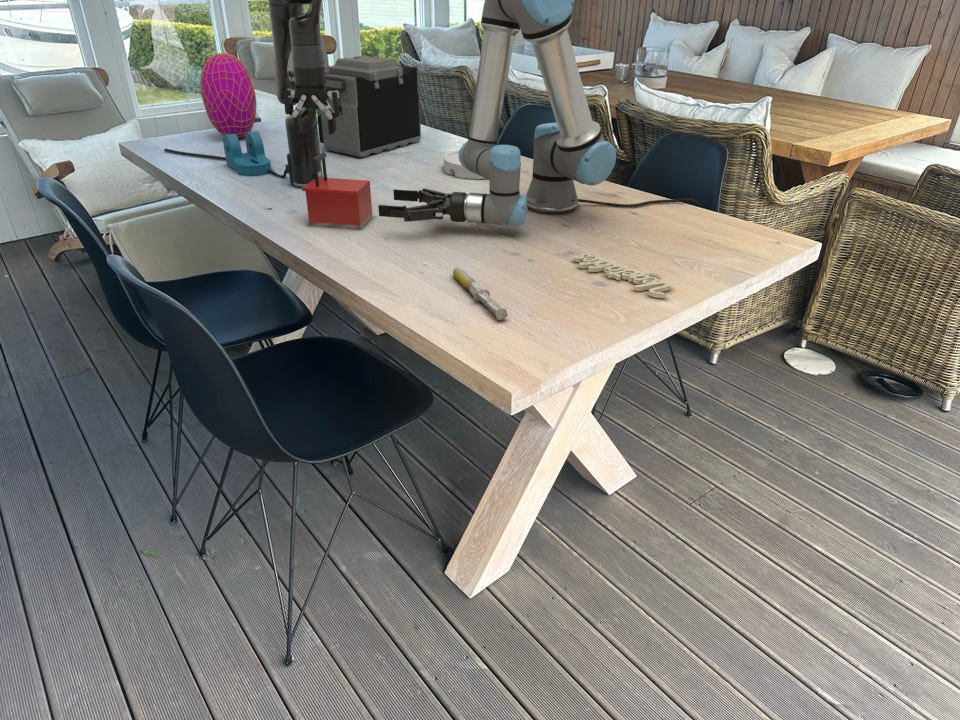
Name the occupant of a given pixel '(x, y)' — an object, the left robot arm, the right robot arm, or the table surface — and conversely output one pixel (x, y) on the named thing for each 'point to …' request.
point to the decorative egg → (228, 95)
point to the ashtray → (457, 167)
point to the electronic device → (372, 106)
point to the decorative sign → (625, 274)
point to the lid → (333, 181)
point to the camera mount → (246, 154)
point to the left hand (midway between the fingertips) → (316, 133)
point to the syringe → (479, 293)
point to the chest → (339, 209)
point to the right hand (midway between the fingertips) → (386, 202)
